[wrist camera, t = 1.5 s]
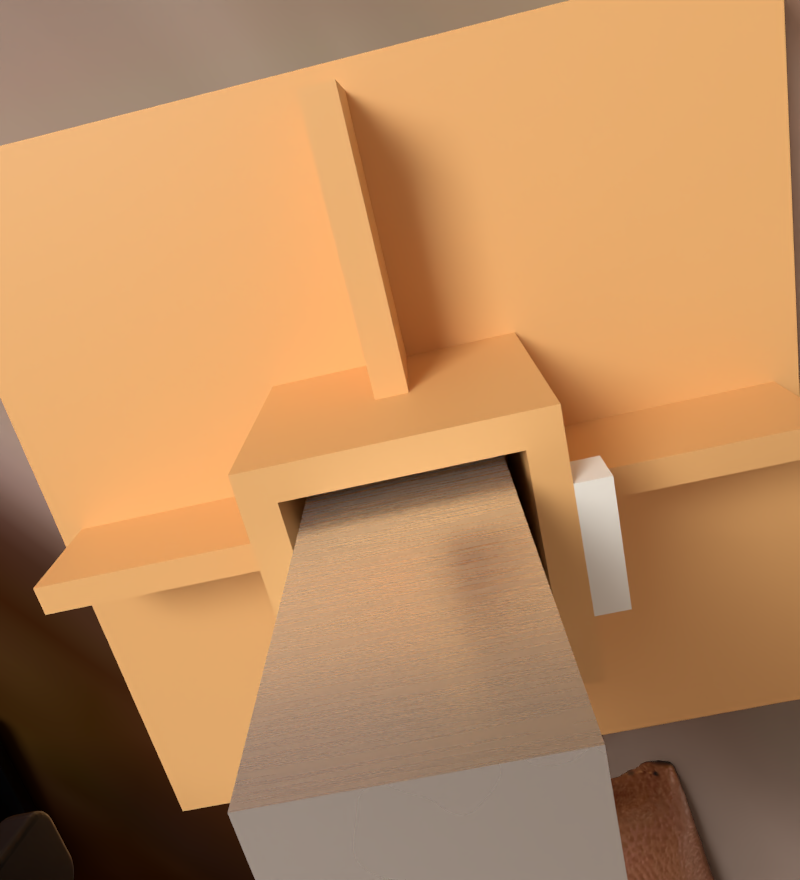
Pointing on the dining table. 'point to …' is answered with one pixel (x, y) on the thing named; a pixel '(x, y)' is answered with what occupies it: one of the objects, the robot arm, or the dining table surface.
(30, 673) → the dining table surface
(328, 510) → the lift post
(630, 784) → the sunglasses case
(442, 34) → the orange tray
